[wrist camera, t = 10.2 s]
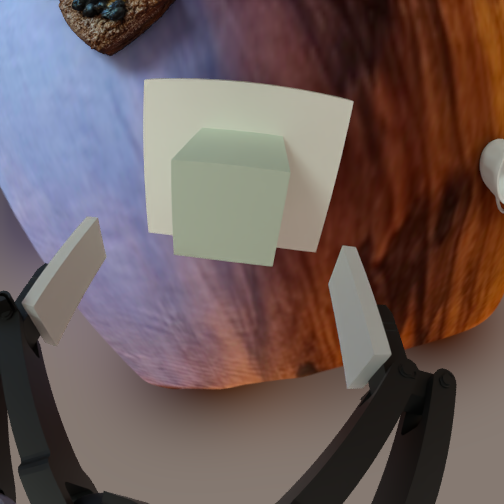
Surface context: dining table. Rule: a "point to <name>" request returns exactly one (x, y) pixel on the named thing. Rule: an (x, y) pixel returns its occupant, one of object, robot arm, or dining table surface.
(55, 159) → the dining table surface
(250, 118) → the serving stand
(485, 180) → the teacup
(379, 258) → the dining table surface
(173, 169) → the sage block
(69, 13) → the pastry
